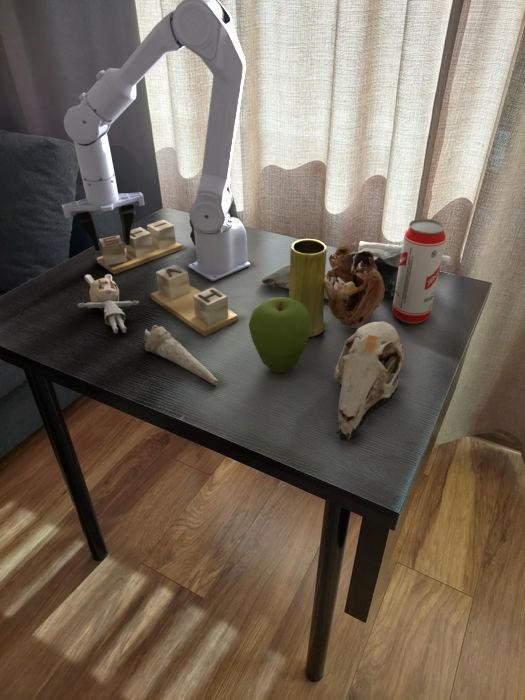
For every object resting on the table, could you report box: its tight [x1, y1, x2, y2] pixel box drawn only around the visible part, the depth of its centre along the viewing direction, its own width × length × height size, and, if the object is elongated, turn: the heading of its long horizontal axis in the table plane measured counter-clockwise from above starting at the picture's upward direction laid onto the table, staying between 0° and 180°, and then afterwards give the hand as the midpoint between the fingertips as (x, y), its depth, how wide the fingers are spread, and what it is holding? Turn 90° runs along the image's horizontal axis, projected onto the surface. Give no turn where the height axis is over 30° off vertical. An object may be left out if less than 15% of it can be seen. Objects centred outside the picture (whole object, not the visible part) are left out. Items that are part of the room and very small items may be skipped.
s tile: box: [98, 234, 127, 266], centre depth 102 cm, size 4×4×4 cm
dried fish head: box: [325, 242, 385, 329], centre depth 86 cm, size 21×9×10 cm, turn 169°
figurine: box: [357, 239, 453, 268], centre depth 101 cm, size 7×4×18 cm
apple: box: [248, 296, 311, 374], centre depth 74 cm, size 9×8×12 cm
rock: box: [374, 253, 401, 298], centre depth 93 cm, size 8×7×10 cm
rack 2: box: [150, 264, 239, 337], centre depth 89 cm, size 16×7×5 cm, turn 42°
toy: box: [77, 273, 139, 334], centre depth 89 cm, size 10×5×15 cm
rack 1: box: [96, 219, 183, 275], centre depth 106 cm, size 16×7×5 cm, turn 132°
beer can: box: [391, 218, 447, 325], centre depth 83 cm, size 6×6×16 cm
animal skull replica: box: [333, 320, 404, 441], centre depth 68 cm, size 8×17×10 cm, turn 154°
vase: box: [288, 238, 327, 338], centre depth 81 cm, size 6×6×14 cm
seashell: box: [143, 324, 219, 386], centre depth 78 cm, size 4×7×15 cm
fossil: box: [261, 264, 348, 300], centre depth 95 cm, size 11×5×15 cm
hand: (112, 245), depth 102 cm, fingers open, 5 cm apart
